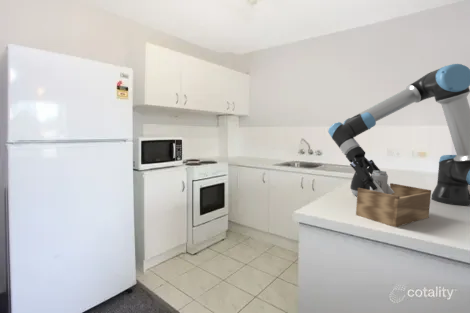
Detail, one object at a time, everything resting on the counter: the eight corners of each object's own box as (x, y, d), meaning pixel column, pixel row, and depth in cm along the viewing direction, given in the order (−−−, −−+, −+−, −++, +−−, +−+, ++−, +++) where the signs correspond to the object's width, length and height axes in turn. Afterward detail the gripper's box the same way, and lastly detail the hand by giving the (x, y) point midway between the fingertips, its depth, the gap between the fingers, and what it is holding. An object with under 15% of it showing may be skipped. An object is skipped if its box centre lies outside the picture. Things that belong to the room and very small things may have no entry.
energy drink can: (366, 207, 105) (369, 171, 104) (370, 204, 110) (373, 169, 108) (383, 210, 101) (386, 172, 100) (386, 207, 106) (389, 171, 104)
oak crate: (355, 214, 101) (357, 188, 100) (389, 207, 113) (391, 183, 112) (395, 227, 88) (397, 196, 87) (428, 217, 100) (431, 190, 99)
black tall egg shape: (364, 193, 139) (366, 166, 137) (375, 198, 128) (378, 168, 127) (346, 193, 138) (347, 165, 137) (356, 198, 128) (358, 168, 126)
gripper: (359, 156, 121) (392, 197, 109) (333, 157, 112) (365, 202, 99) (371, 145, 116) (406, 187, 104) (344, 145, 107) (380, 192, 94)
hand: (386, 195), depth 102 cm, fingers closed on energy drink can, 6 cm apart
